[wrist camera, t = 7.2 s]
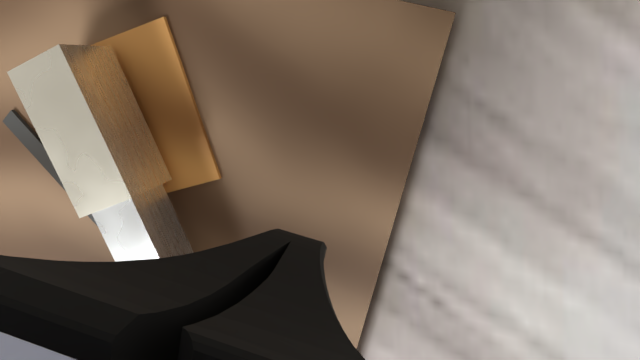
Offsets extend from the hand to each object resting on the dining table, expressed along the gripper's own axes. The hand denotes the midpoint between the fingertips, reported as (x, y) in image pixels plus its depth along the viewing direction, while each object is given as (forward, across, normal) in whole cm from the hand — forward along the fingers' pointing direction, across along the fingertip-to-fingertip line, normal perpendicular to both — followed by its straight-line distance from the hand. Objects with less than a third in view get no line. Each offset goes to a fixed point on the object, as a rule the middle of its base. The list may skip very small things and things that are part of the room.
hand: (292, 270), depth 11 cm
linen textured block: (+7, +7, +5) cm, 11 cm away
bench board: (+9, +10, +2) cm, 14 cm away
